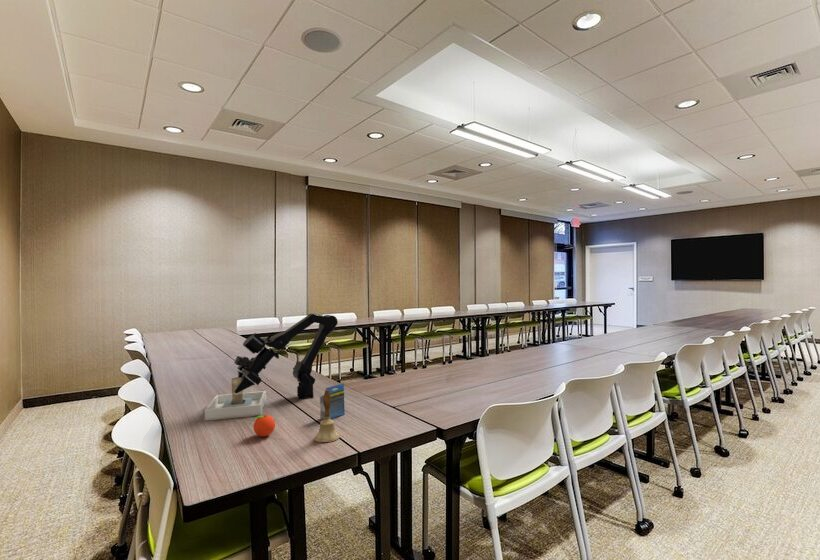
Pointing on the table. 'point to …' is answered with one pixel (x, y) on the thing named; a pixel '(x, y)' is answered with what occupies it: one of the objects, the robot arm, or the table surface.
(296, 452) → the table surface
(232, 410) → the tray
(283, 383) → the table surface
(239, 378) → the peg
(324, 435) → the hand bell
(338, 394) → the label tape cartridge
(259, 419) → the clementine
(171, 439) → the table surface
